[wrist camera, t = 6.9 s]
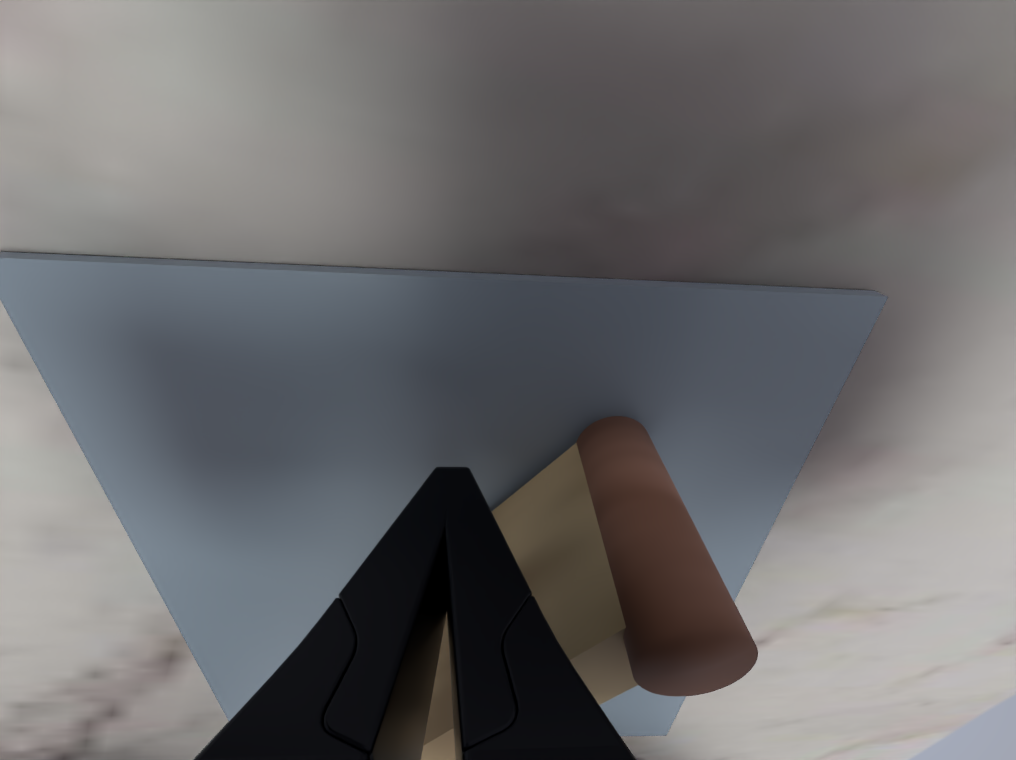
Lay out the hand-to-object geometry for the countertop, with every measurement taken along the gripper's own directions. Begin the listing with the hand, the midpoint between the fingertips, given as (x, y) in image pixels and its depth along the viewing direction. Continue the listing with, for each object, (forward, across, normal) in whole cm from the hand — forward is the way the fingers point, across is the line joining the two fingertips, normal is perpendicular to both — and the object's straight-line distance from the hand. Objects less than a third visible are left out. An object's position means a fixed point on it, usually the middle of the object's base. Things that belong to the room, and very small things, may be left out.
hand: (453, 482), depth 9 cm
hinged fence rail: (+2, 0, +4) cm, 5 cm away
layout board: (+2, 0, +6) cm, 7 cm away
